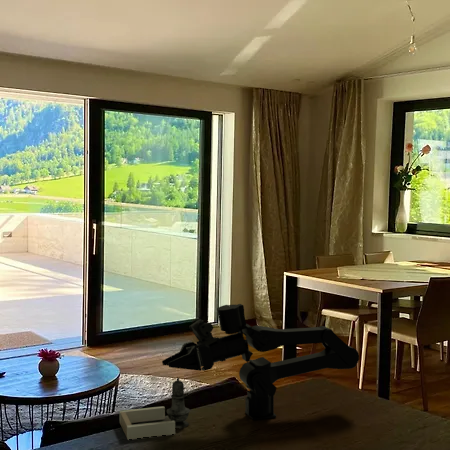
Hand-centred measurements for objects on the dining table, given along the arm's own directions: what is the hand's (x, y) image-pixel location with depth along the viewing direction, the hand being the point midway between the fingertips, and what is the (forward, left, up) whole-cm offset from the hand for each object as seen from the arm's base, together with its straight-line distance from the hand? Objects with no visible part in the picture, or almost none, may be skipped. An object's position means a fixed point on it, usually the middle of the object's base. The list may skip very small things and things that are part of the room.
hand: (165, 364), depth 163 cm
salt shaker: (-3, 0, -16) cm, 16 cm away
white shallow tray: (+5, 0, -16) cm, 16 cm away
